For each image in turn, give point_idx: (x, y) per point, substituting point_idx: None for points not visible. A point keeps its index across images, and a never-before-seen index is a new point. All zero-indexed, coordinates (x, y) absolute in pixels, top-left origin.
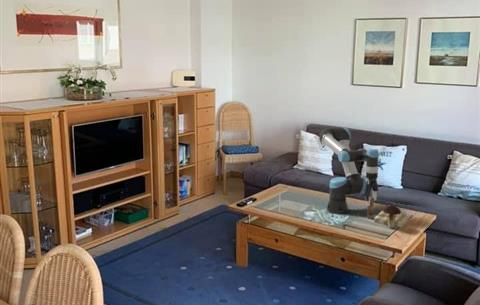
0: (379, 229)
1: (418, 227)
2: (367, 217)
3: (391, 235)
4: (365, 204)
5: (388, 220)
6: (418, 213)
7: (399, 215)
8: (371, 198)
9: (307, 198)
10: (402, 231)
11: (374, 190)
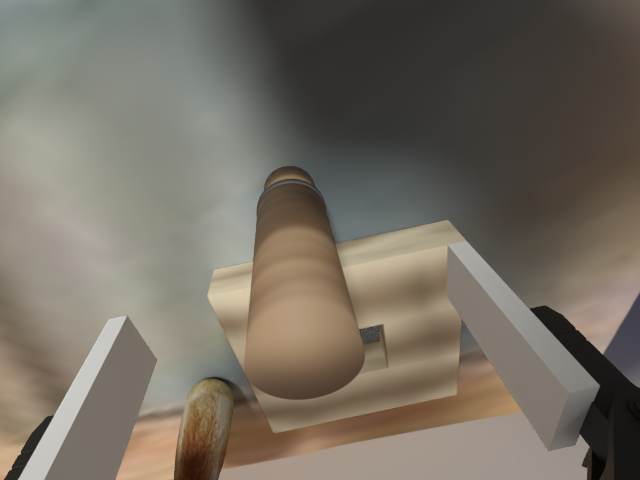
0: None
1: (335, 439)
2: (274, 173)
3: None
4: (103, 330)
5: (184, 427)
6: None
7: (408, 371)
8: (298, 375)
9: None
10: None
11: (598, 431)
